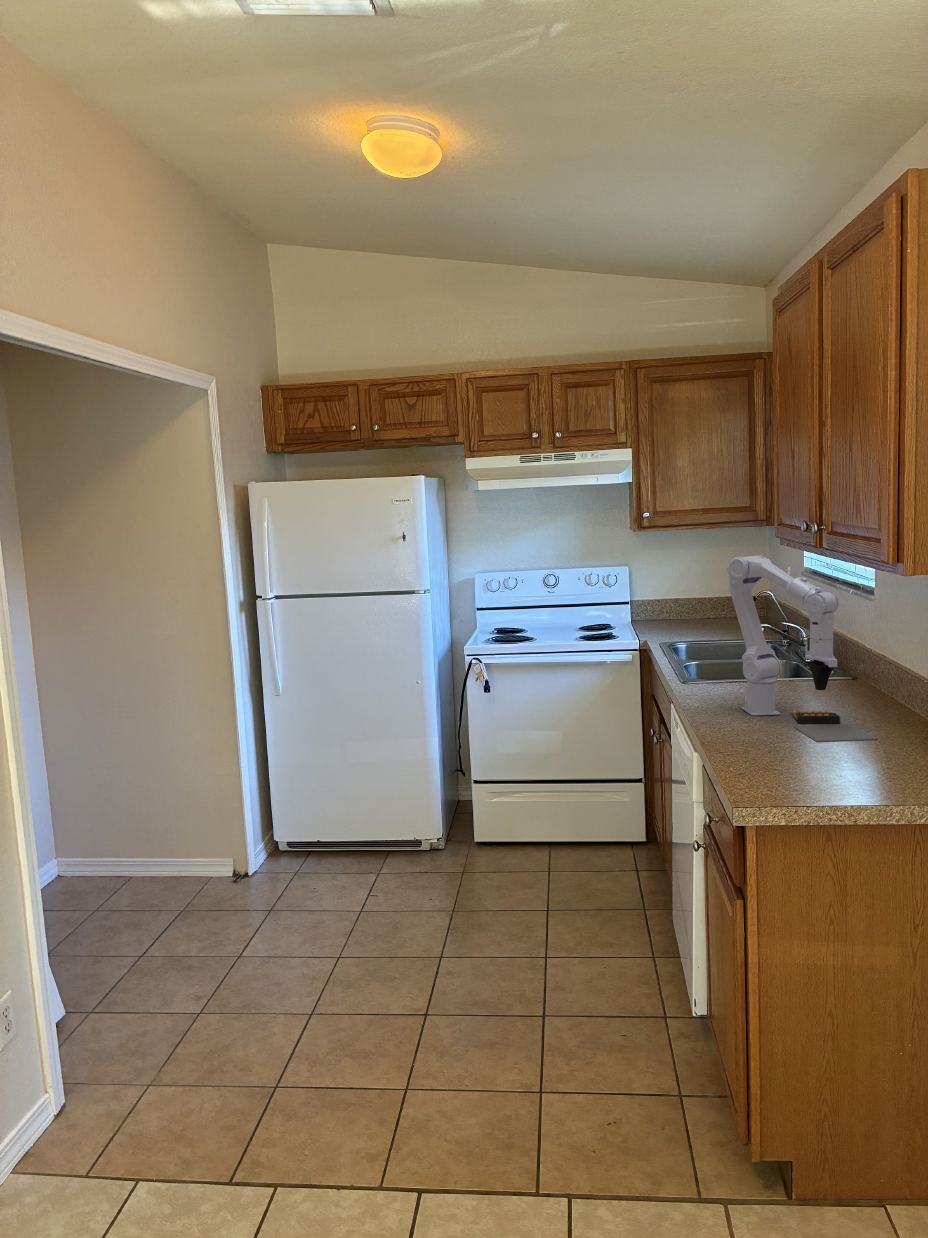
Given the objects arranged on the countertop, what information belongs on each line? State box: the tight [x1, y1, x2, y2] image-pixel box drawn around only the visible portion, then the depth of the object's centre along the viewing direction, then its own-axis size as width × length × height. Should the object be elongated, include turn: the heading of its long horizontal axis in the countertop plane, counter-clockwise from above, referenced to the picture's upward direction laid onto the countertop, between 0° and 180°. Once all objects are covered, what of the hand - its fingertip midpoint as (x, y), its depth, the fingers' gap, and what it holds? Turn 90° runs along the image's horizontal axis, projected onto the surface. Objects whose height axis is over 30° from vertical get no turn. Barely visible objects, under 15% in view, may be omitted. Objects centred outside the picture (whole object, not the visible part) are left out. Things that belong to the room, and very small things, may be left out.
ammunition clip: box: [791, 709, 841, 724], centre depth 251 cm, size 11×2×12 cm
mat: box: [793, 723, 878, 743], centre depth 235 cm, size 15×15×1 cm
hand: (820, 689), depth 243 cm, fingers closed
